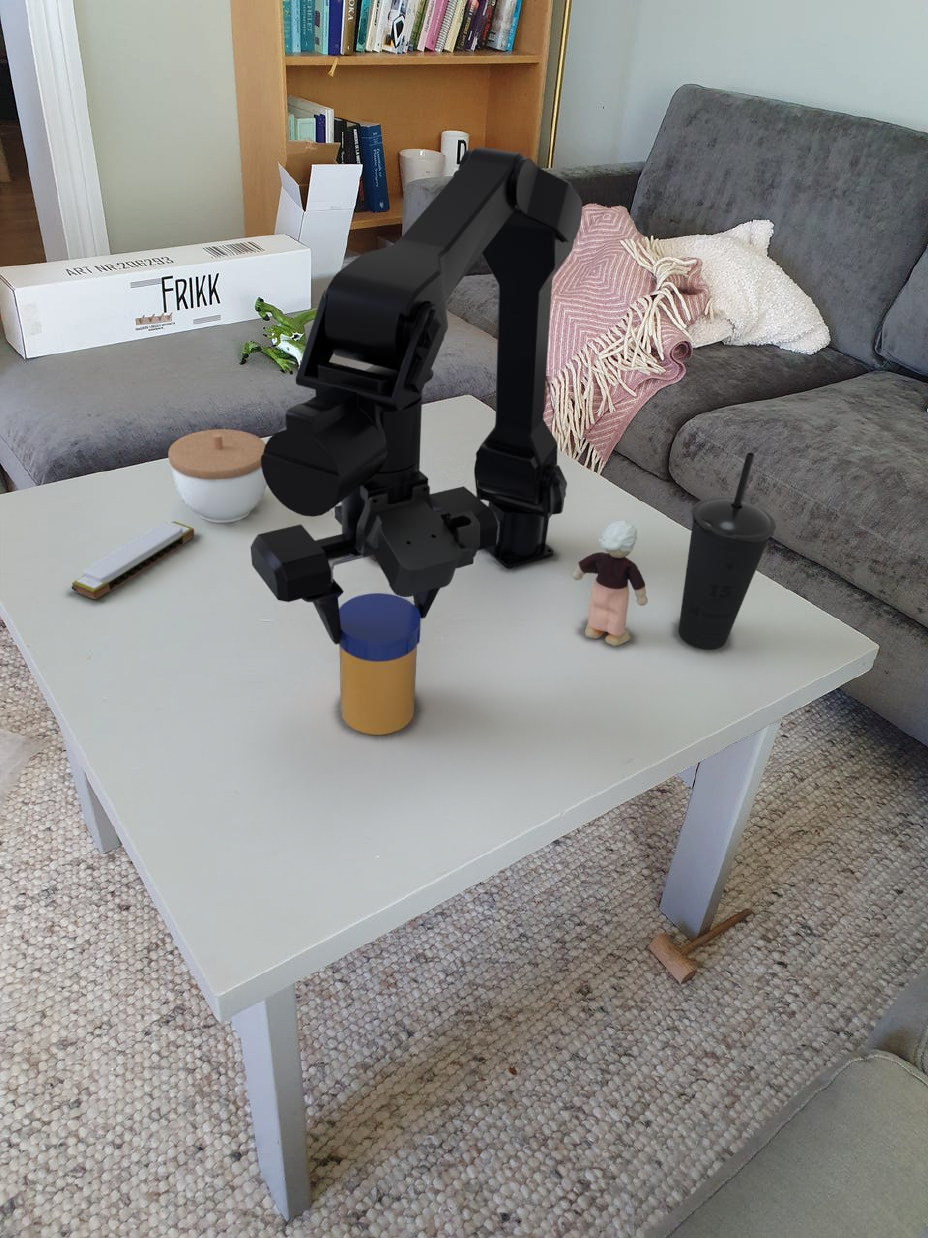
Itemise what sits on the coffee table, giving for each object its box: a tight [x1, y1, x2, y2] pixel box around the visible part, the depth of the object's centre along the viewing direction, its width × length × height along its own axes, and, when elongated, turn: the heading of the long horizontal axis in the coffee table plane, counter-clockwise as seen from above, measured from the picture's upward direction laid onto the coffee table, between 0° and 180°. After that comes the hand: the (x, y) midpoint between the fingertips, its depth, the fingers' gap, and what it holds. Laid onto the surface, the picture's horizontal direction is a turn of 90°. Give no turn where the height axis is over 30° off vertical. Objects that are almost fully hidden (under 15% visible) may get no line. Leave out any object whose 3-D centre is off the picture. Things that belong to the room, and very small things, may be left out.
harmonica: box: [71, 520, 196, 600], centre depth 96 cm, size 15×3×2 cm, turn 152°
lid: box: [338, 592, 422, 661], centre depth 75 cm, size 7×7×2 cm
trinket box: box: [167, 428, 267, 524], centre depth 104 cm, size 11×11×9 cm
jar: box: [338, 644, 418, 736], centre depth 77 cm, size 6×6×10 cm
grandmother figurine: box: [571, 520, 648, 647], centre depth 88 cm, size 8×4×13 cm, turn 71°
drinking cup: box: [677, 452, 777, 651], centre depth 86 cm, size 8×8×20 cm
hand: (378, 628), depth 75 cm, fingers open, 7 cm apart
